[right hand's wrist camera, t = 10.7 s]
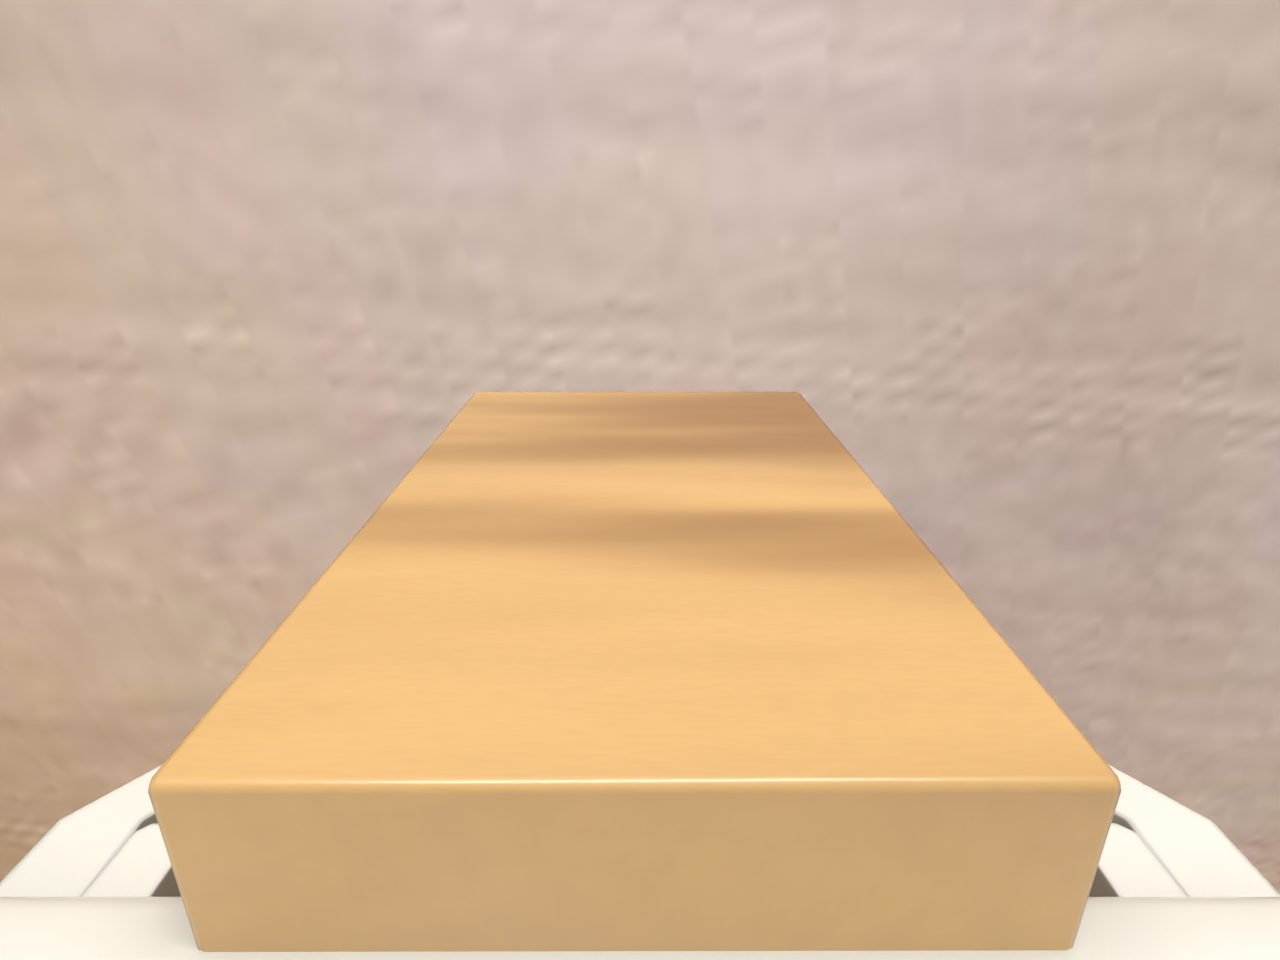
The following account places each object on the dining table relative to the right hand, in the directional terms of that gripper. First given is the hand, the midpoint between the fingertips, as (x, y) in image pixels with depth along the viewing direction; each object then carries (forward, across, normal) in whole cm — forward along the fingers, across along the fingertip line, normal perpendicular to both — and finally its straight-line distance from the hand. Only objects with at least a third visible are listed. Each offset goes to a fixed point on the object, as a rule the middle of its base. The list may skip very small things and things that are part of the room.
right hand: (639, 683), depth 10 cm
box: (+4, 0, -8) cm, 9 cm away
